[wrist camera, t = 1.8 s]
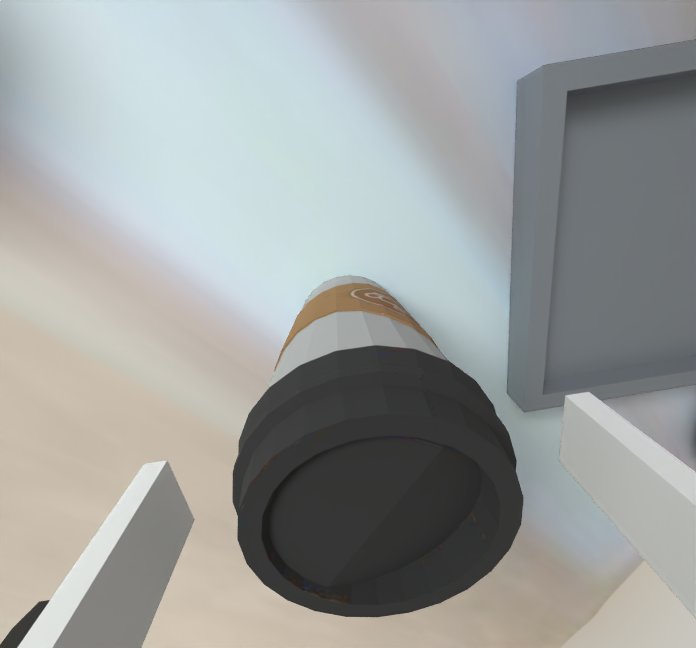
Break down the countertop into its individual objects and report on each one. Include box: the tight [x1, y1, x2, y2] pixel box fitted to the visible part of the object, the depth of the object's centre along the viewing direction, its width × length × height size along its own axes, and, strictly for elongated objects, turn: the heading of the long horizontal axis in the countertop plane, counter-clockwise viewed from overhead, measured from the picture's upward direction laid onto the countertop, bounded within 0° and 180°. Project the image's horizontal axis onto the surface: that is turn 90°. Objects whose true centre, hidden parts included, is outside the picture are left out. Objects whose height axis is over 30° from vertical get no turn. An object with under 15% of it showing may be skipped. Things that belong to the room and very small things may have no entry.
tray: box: [507, 39, 696, 412], centre depth 20 cm, size 20×20×2 cm
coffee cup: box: [233, 275, 523, 617], centre depth 15 cm, size 8×8×15 cm
